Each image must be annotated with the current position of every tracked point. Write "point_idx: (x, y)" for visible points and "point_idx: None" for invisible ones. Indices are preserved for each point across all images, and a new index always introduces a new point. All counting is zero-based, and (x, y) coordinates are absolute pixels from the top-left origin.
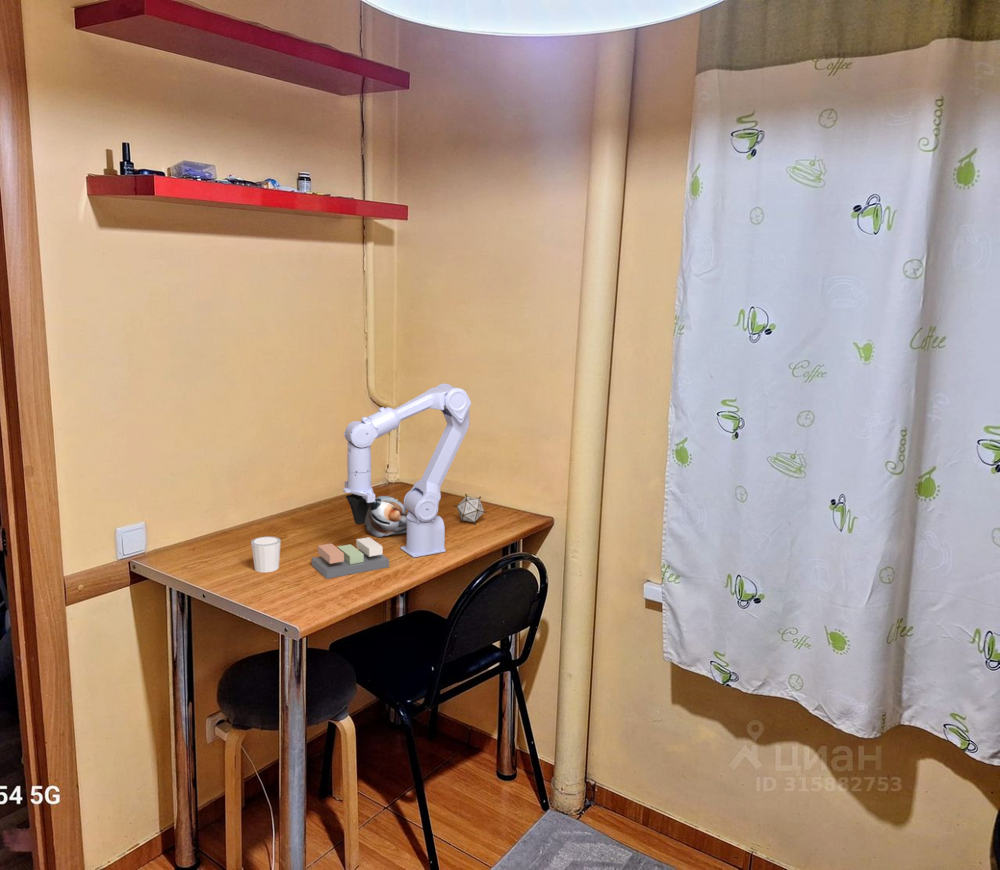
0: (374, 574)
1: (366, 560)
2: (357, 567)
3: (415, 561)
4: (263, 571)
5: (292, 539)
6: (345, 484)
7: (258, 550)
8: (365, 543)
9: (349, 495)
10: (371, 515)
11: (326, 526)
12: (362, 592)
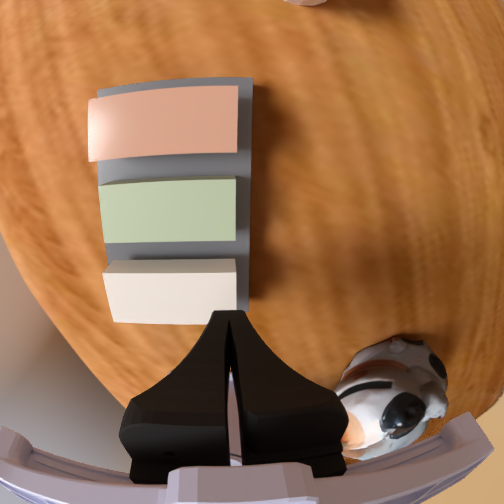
0: (86, 240)
1: (130, 248)
2: None
3: (146, 364)
4: None
5: (470, 151)
6: (473, 443)
7: None
8: (167, 285)
9: (330, 431)
10: (394, 380)
11: (484, 264)
12: (2, 169)
